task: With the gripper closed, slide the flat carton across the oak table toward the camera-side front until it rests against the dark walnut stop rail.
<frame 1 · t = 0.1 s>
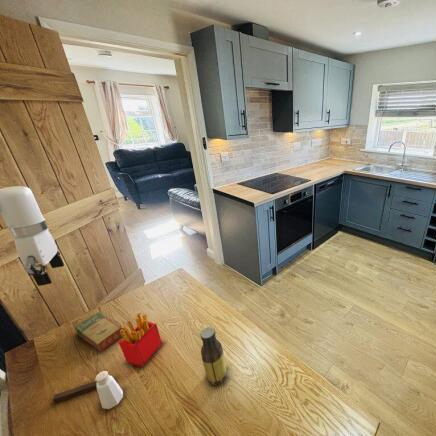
hand: (52, 275, 77), 28 cm above the table, tool pointing down, fingers open, 9 cm apart
sauce bottle: (216, 376, 76), on the table
french fries container: (145, 353, 83), on the table
stop rail: (85, 390, 72), on the table
pepper shaker: (113, 399, 70), on the table
carton: (101, 334, 90), on the table
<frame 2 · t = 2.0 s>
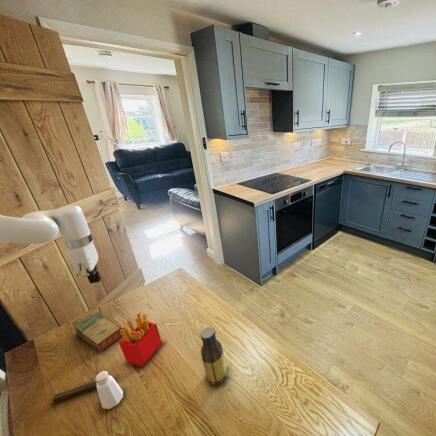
hand: (95, 281, 92), 17 cm above the table, tool pointing down, fingers closed
nothing on the table moved.
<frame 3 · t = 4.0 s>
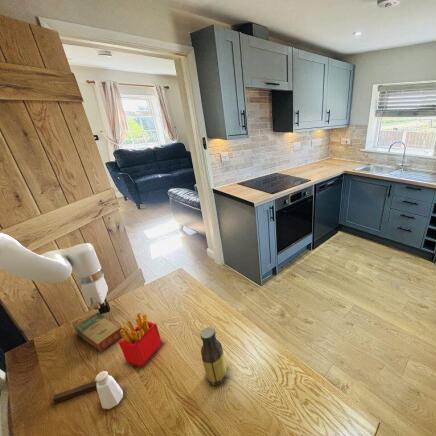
hand: (105, 311, 96), 3 cm above the table, tool pointing down, fingers closed
carton: (101, 334, 90), on the table, touching gripper
everything else where it was.
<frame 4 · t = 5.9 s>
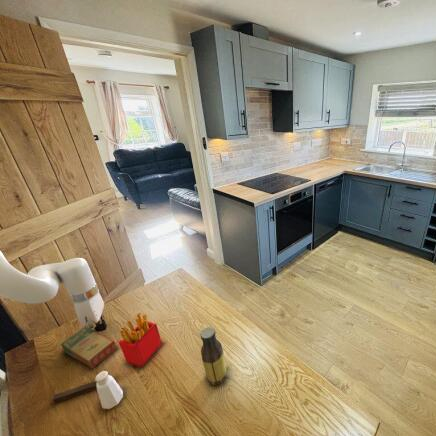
hand: (101, 329, 89), 2 cm above the table, tool pointing down, fingers closed
carton: (91, 350, 84), on the table, touching gripper
everything else where it was.
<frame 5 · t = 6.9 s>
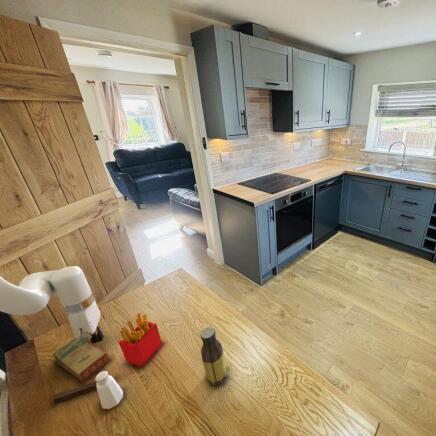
hand: (98, 340, 85), 2 cm above the table, tool pointing down, fingers closed
carton: (83, 361, 80), on the table, touching gripper
everything else where it was.
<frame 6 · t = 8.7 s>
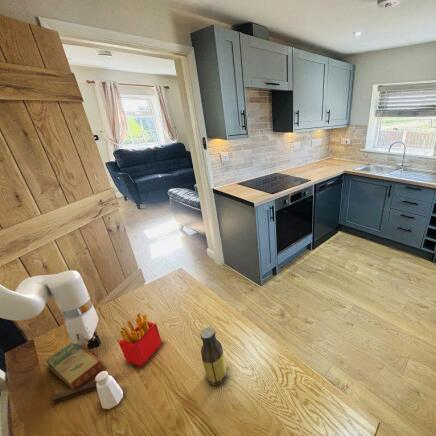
hand: (95, 346, 84), 1 cm above the table, tool pointing down, fingers closed
carton: (77, 368, 78), on the table
everything else where it was.
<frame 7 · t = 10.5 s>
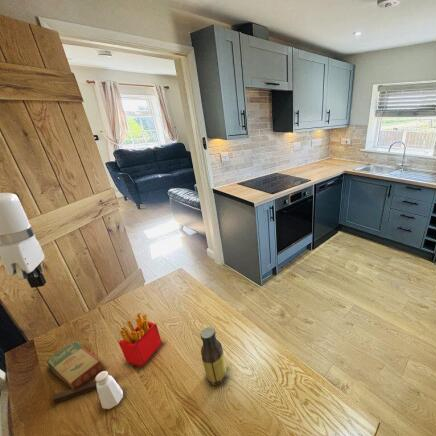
hand: (39, 285, 77), 25 cm above the table, tool pointing down, fingers closed
nothing on the table moved.
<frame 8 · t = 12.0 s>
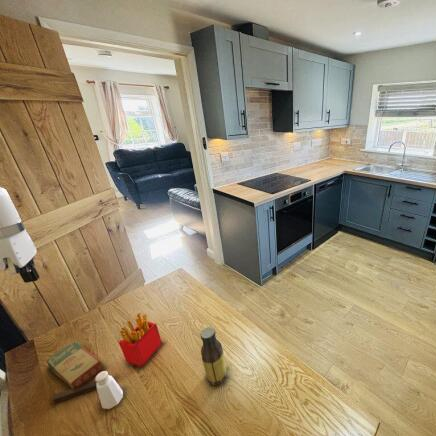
hand: (32, 280, 76), 27 cm above the table, tool pointing down, fingers closed
nothing on the table moved.
at the end: carton inside the target area (4.4 cm from its centre), on the table; carton tilted 0°; carton moved 13.1 cm from its start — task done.
